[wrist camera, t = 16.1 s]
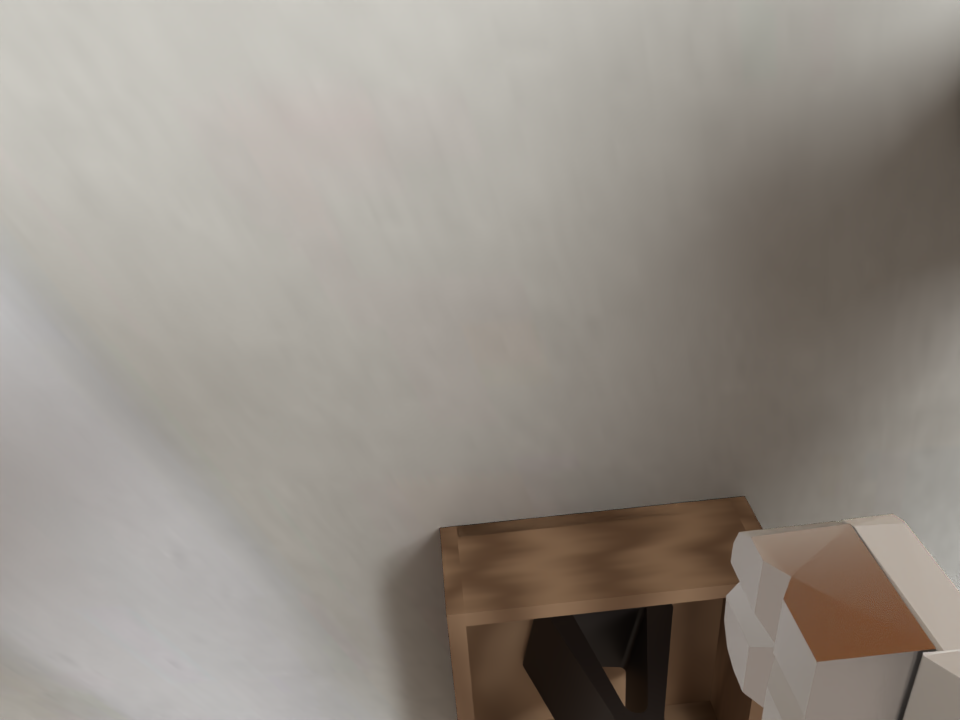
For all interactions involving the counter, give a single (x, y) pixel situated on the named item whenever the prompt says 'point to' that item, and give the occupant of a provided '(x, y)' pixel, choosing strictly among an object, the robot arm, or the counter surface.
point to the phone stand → (601, 663)
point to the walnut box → (595, 600)
